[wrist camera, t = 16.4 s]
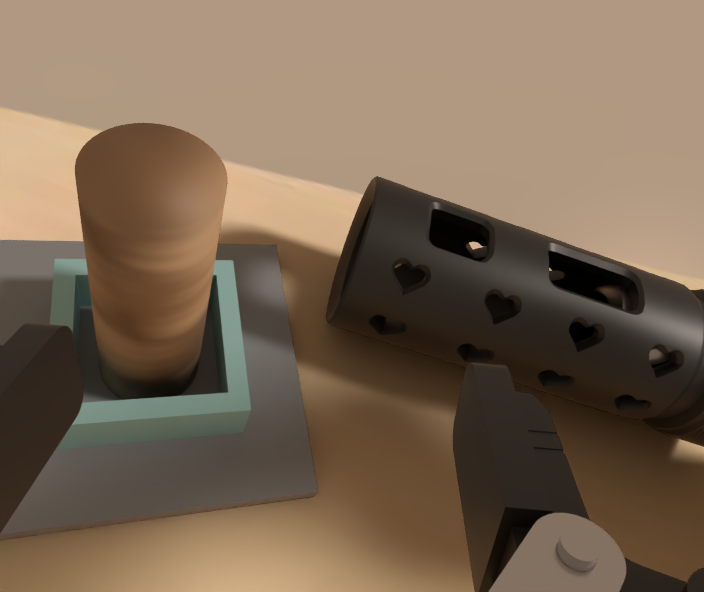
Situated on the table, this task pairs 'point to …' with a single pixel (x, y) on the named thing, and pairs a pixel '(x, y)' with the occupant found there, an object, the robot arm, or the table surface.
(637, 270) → the muzzle brake
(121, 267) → the walnut peg
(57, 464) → the socket stand
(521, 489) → the robot arm
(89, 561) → the table surface
